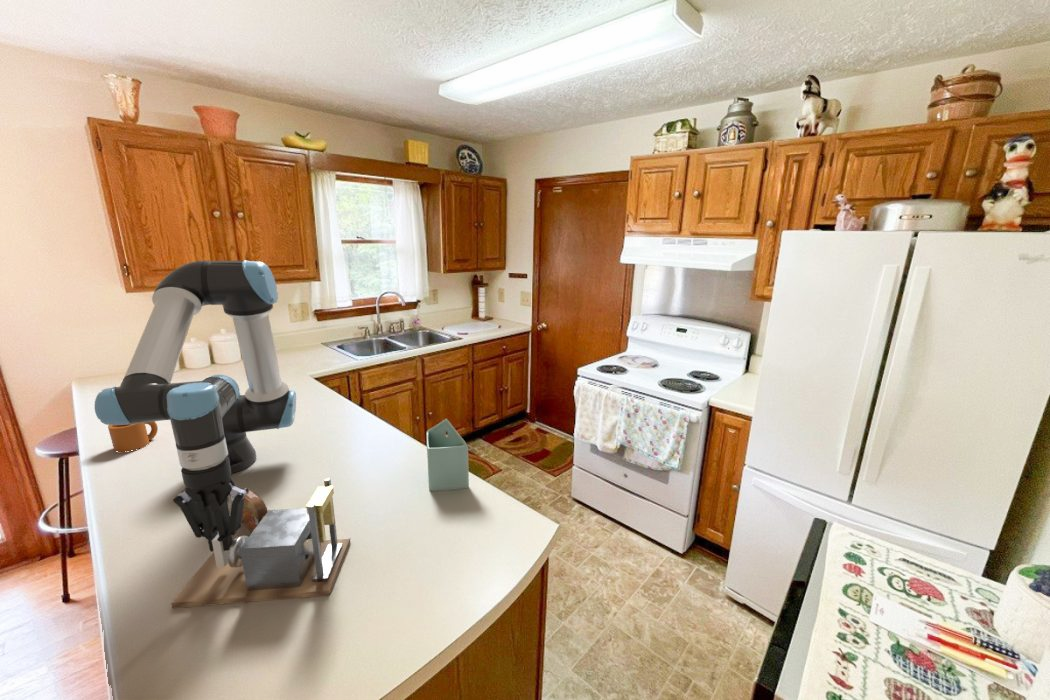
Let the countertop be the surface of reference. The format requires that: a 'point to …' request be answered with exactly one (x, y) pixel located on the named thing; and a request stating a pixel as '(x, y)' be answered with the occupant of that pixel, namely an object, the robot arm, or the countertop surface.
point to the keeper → (323, 508)
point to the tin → (253, 510)
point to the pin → (237, 543)
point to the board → (231, 585)
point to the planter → (446, 458)
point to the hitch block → (287, 549)
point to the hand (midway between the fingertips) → (224, 562)
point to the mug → (131, 436)
